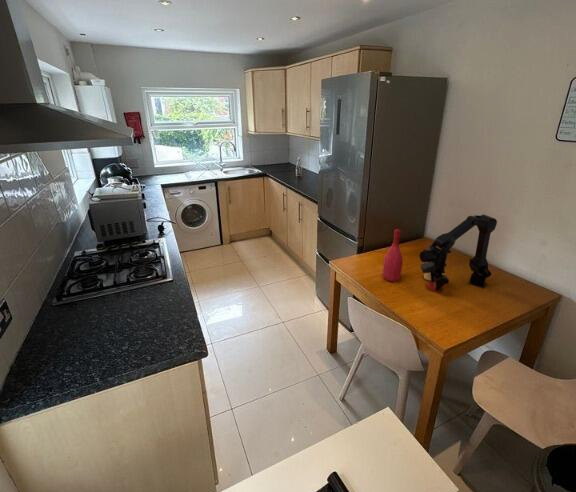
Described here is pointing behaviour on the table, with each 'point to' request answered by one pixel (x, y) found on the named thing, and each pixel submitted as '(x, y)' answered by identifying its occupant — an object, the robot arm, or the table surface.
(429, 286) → the lid
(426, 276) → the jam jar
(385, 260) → the wine bottle
